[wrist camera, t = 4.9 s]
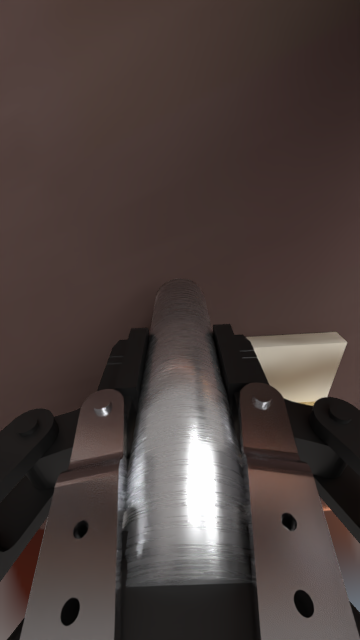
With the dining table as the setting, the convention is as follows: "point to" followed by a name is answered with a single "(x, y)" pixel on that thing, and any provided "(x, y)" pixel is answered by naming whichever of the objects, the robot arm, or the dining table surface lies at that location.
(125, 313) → the dining table surface
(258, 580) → the robot arm
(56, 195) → the dining table surface
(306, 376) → the base plate with nut
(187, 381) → the hinge pin
